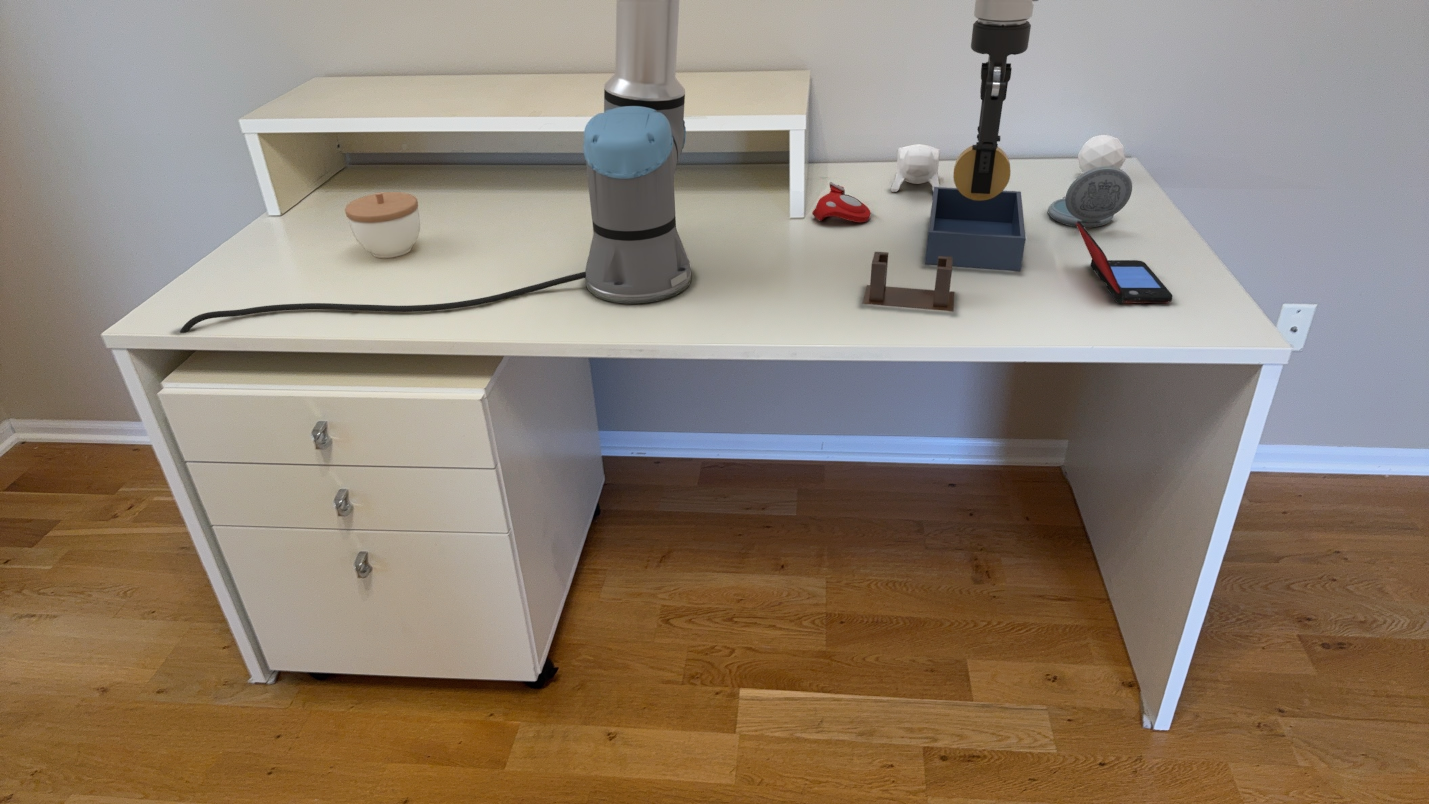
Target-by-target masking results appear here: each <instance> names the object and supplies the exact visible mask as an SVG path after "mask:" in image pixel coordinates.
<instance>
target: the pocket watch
mask: <svg viewBox="0 0 1429 804" xmlns="http://www.w3.org/2000/svg"><path fill="white" fill-rule="evenodd" d="M1132 192H1133V182H1132V179H1131V177H1130V175H1129V174H1128V173H1127V172H1126V171H1124V170H1123V169H1121V168H1120V169H1119V168H1115V167H1099V168H1095V169H1092V170H1089V171H1087V172H1085V173H1084V174H1083V173H1082V174H1081V175H1079V176H1078V177H1077V178H1075V180H1074V181H1073V182H1072V183H1071V184H1070V185H1069V187H1068V189H1067V191H1066V194H1065V196H1063V197H1062V198H1060V199H1059V198H1058V199H1056V200H1054V201H1053V202H1052V203H1051V204H1050V205H1049V206H1048V208H1047V212H1048V215H1049V216H1050V217H1051V219H1053V220H1055V221H1056V222H1058V223H1061V224H1063V225H1067V226H1071V227H1077V222H1078V221H1080V223H1081V224H1082V225H1083V226H1084V228H1096V227H1097V228H1098V227H1100V226H1104V225H1106V224H1109V223H1110V222H1111V221H1112V220H1113V219H1114V217H1115V215H1116V214H1117V213H1120V211H1122V209H1124V208H1125V206H1126V205H1127V204H1128V203H1129V200H1130V198H1131V196H1132V194H1133V193H1132ZM1077 228H1078V227H1077Z"/></svg>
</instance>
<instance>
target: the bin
mask: <svg viewBox="0 0 1429 804" xmlns="http://www.w3.org/2000/svg"><path fill="white" fill-rule="evenodd" d="M929 215H930V216H929V217H930V218H929V223H928V231H927V239H926V248H925V249H926V250H925V260H924V265H925V266H937V265H938V256H945V257H953V265H952V268H954V267H955V268H966V269H967V268H968V269H981V270H995V271H1006V272H1007V271H1010V272H1021V269H1022V263H1023V259H1024V258H1023V257H1024V251H1025V245H1026V228H1025V227H1026V226H1025V218H1024V217H1025V216H1024V207H1023V199H1022V191H1017V190H1003V191H1002V192H1001V193H1000V194H998V195H997V196H995V197H994V198H991V199H988V200H983V201H977V200H972V199H969V198H967V197H965V196H964V195H962V194H961V193H960V192H959V191H958V189H957V187H947V186H945V187H943V186H940V187H934V191H933V190H932V199H931V208H930V214H929Z"/></svg>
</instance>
